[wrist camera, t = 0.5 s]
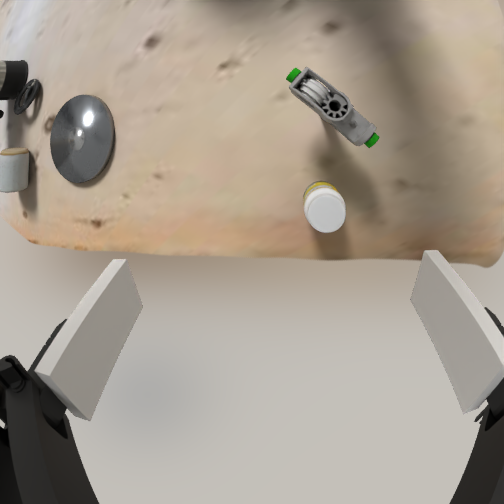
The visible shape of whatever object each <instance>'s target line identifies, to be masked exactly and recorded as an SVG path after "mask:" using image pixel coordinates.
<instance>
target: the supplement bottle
mask: <svg viewBox="0 0 504 504" xmlns="http://www.w3.org/2000/svg"><path fill="white" fill-rule="evenodd" d="M303 199H304V213H305V216H306V219H307V220H308V222H309V223H310V224H311V225H312V227H313V228H315V229H316V230H318V231H320V232H323V233H330V232H334V231H336V230H338V229H339V228H340V227H341V226H342V224H343V223H344V221H345V216H346V206H345V202H344V200H343V198H342V196H341V195H340V193H339V192H338V191H337V189H336V188H335V187H334V186H333V185H332V184H330V183H328V182H325V181H317V182H314V183H312V184H311V185H310V186H308V188H307V189H306V191H305V193H304V198H303Z"/></svg>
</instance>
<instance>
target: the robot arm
mask: <svg viewBox="0 0 504 504" xmlns="http://www.w3.org/2000/svg"><path fill="white" fill-rule="evenodd" d="M410 300H411V302H412V304H413V305H414V307H415V309H416V311H417V313H418V315H419V317H420V318H421V320H422V322H423V324H424V326H425V328H426V330H427V332H428V334H429V336H430V338H431V340H432V342H433V344H434V346H435V348H436V350H437V352H438V355H439V357H440V359H441V361H442V363H443V365H444V368H445V370H446V372H447V374H448V377H449V379H450V381H451V384H452V386H453V389H454V391H455V393H456V396H457V399H458V401H459V404H460V406H461V409H462V411H463V414H465V413H467V412H470V411H472V410H475V409H477V408H479V407H480V405H481V404H482V403H483V402H484V401H485V400H486V399H487V402H488V405H487V407H486V408H485V409H484V410H483V411H482V412H481V413H480V414H479V415H478V416H477V417H476V419H475V422H477V421H478V420H479V419H480V418H481V417H482V416H483V418H482V420H481V421H480V424H481V425H480V428H479V432H478V435H477V438H476V441H475V444H474V448H473V450H472V453H471V456H470V458H469V461H468V464H467V466H466V469H465V471H464V474H463V476H462V478H461V481H460V483H459V485H458V487H457V489H456V492H455V494H454V496H453V498H452V500H451V502H450V504H504V327H503V326H501V323H500V321H499V320H498V318H497V317H496V316H495V315H494V314H493V313H492V312H491V311H490V310H489V309H487V308H486V307H485V308H484V307H483V306H482V305H481V303H480V302H479V300H478V299H477V298H476V296H475V295H474V294H473V293H472V291H471V290H470V289H469V287H468V286H467V285H466V284H465V282H464V281H463V280H462V279H461V277H460V276H459V275H458V274H457V272H456V271H455V270H454V269H453V268H452V266H451V265H450V264H449V263H448V262H447V260H446V259H445V258H444V257H443V256H442V255H441V254H440V252H439V251H438V250H424V253H423V257H422V261H421V265H420V269H419V272H418V276H417V279H416V283H415V286H414V290H413V293H412V296H411V299H410ZM142 308H143V305H142V302H141V299H140V297H139V294H138V291H137V289H136V285H135V282H134V279H133V276H132V273H131V271H130V267H129V264H128V261H127V259H113V260H112V261H111V263H110V264H109V265H108V266H107V268H106V269H105V270H104V271H103V273H102V274H101V275H100V276H99V278H98V279H97V280H96V282H95V283H94V284H93V285H92V287H91V288H90V289H89V291H88V292H87V293H86V295H85V296H84V297H83V299H82V300H81V302H80V303H79V304H78V306H77V307H76V308H75V310H74V311H73V312H72V314H71V315H70V317H69V318H68V319H65V320H64V321H63V322H62V323H61V324H59V325H58V326H57V327H56V329H55V330H54V331H53V333H52V334H51V338H49V339H48V340H47V342H46V345H44V346H43V348H42V350H41V351H40V353H39V354H38V356H37V357H36V359H35V360H34V362H33V364H32V365H31V367H30V369H29V370H28V372H27V371H26V370H25V368H24V367H23V366H22V365H21V364H20V362H19V361H18V359H17V358H16V357H15V356H12V355H9V356H5V357H3V358H2V359H0V419H1V420H2V421H3V422H4V423H5V427H4V429H3V428H2V427H1V426H0V504H99V502H98V500H97V498H96V496H95V494H94V491H93V489H92V487H91V484H90V482H89V480H88V477H87V475H86V472H85V469H84V467H83V464H82V461H81V459H80V456H79V453H78V450H77V447H76V444H75V440H74V437H73V434H72V430H71V427H70V423H69V420H68V418H67V416H66V414H65V411H66V409H68V410H69V411H70V412H71V413H73V415H74V416H76V417H79V418H82V419H85V420H88V421H90V420H91V418H92V416H93V413H94V411H95V408H96V406H97V404H98V401H99V399H100V397H101V394H102V392H103V390H104V387H105V385H106V383H107V380H108V378H109V376H110V374H111V372H112V369H113V367H114V365H115V363H116V361H117V359H118V356H119V354H120V352H121V350H122V348H123V346H124V344H125V342H126V340H127V338H128V336H129V334H130V332H131V330H132V328H133V325H134V323H135V322H136V320H137V318H138V316H139V314H140V312H141V310H142Z"/></svg>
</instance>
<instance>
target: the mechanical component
mask: <svg viewBox="0 0 504 504" xmlns="http://www.w3.org/2000/svg"><path fill="white" fill-rule="evenodd" d="M315 78H316V79H317V80H319V81H320V82H322V83H323V84H324V85H325V86H326V87H327V88H328V89H327V88H326V87H324V86H323V85H322V84H321V83H319V82H318V81H317V80H316V79H315ZM286 80H288V81H289V82H290V83H291V85H290V86H289V89H290V90H291V92H292V93H293V94H294V95H295V96H296V97H297V98H298V99H300V100H301V101H302V102H303V103H305V104H306V105H307V106H309V107H310V108H311V109H312V110H314V111H315V112H316V113H317V114H319V116H320V117H321V118H322V119H323V120H324V121H327V122H328V123H329V124H331V125H332V126H333V127H334V128H335V129H336V130H338V131H339V132H340V133H341V134H342V135H343V136H344V137H346V138H347V139H348V140H349V141H350V142H351V143H353V144H354V145H356V146H361V145H362V144H363V143H364V144H365V145H366V146H367V147H368V148H370V147H372V146H373V145H374V144H375V143H376V142H377V141H378V139H379V136H378V135H377V134H376V133H375V132H374V131H375V130H376V127H375V126H374V125H373V124H372V123H369V122H368V121H367V120H366V119H365V118H364V117H363V116H362V115H361V114H359V113H358V112H357V111H356V110H355V109H354V108H353V107H354V106H353V105H352V104H351V103H350V100H349V98H348V97H347V96H346V95H345V94H344V93H342V92H340V91H338V90H337V89H335V88H334V87H333V86H332V85H330V84H329V83H328V82H327V81H325V80H324V79H323V78H321V77H320V76H319V75H317V74H316V73H315V72H313V71H312V70H311V69H309V68H308V67H306V68H305V69H304V70H303V71H302V72H301V71H300V70H298V69H297V68H294V69H293V70H292V71H291V72H290V74H289V75H288V76H287V78H286Z"/></svg>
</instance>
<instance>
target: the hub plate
mask: <svg viewBox="0 0 504 504" xmlns="http://www.w3.org/2000/svg"><path fill="white" fill-rule="evenodd" d="M114 137H115V129H114V121H113V117H112V115H111V112H110V110H109V108H108V106H107V105H106V104H105V103H104V102H103V101H102V100H101V99H100V98H98V97H96V96H92V95H79V96H76V97H74V98H72V99H70V100H69V101H68V102H66V103H65V104H64V105H63V107H62V108H61V109H60V111H59V112H58V114H57V116H56V118H55V120H54V123H53V127H52V131H51V138H50V147H51V154H52V159H53V161H54V164H55V166H56V168H57V170H58V171H59V173H60V174H61V175H62V176H63V177H64V178H65V179H67V180H69V181H71V182H75V183H81V182H85V181H88V180H91V179H93V178H95V177H96V176H98V175H99V174H100V173H101V172H102V170H103V169H104V168H105V166H106V165H107V163H108V161H109V159H110V156H111V153H112V150H113V146H114Z"/></svg>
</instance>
